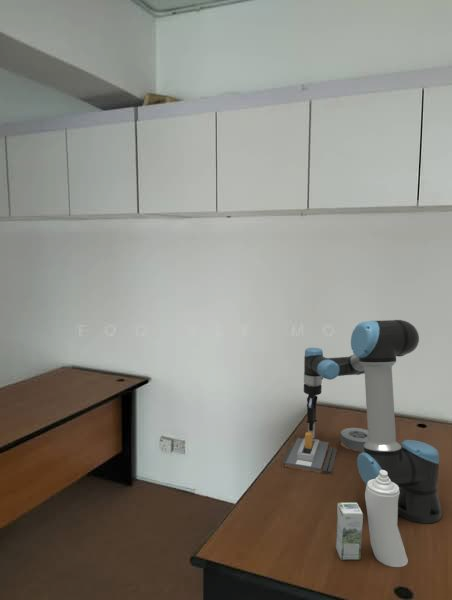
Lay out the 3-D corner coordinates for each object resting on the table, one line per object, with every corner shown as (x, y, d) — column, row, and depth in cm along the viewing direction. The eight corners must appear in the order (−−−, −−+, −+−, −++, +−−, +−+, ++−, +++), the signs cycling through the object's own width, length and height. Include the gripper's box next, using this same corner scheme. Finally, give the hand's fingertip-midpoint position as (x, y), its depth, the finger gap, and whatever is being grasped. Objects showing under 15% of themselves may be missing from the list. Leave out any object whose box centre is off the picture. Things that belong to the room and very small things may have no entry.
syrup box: (354, 547, 136) (356, 501, 134) (361, 561, 130) (363, 512, 128) (335, 547, 136) (337, 501, 134) (341, 561, 130) (342, 512, 128)
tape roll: (382, 449, 203) (383, 438, 203) (354, 454, 198) (354, 443, 197) (360, 436, 218) (361, 425, 217) (333, 440, 212) (333, 430, 211)
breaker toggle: (311, 453, 193) (311, 435, 192) (304, 452, 194) (305, 434, 193) (312, 450, 196) (312, 432, 195) (305, 449, 197) (306, 431, 196)
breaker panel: (331, 475, 179) (331, 464, 179) (281, 466, 186) (281, 456, 185) (337, 448, 204) (338, 438, 203) (294, 441, 210) (294, 432, 210)
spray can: (378, 571, 126) (382, 485, 123) (356, 547, 136) (360, 466, 133) (414, 564, 129) (419, 479, 126) (390, 541, 139) (394, 462, 136)
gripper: (319, 389, 190) (317, 443, 193) (323, 380, 202) (321, 432, 205) (301, 387, 193) (299, 441, 195) (306, 379, 205) (305, 430, 207)
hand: (311, 436), depth 200 cm, fingers closed
